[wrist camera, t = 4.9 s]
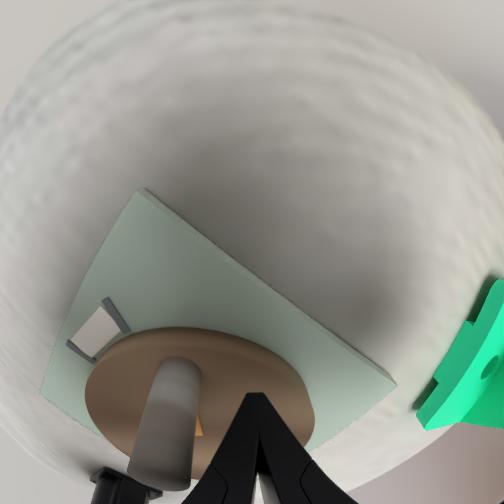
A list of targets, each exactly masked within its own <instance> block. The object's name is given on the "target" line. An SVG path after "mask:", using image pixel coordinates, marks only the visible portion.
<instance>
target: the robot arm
mask: <svg viewBox="0 0 504 504" xmlns="http://www.w3.org/2000/svg"><path fill="white" fill-rule="evenodd" d="M257 472H258V477H259V482H260V486H261V491H262V496H263V500H264V504H358V503H357V502H356V501H355V500H353V499H352V498H351V497H350V496H349V495H347V494H346V493H345V492H344V491H343V490H342V489H340V488H339V487H338V486H337V485H336V484H335V483H334V482H333V481H332V480H331V479H330V478H329V477H328V476H327V475H326V474H325V473H324V472H323V471H322V470H321V468H320V467H319V466H318V465H317V463H316V462H315V461H314V460H312V457H311V456H310V455H309V454H308V452H307V451H306V450H305V448H304V447H303V446H302V444H301V443H300V442H299V440H298V439H297V438H296V436H295V435H294V434H293V432H292V431H291V430H290V428H289V427H288V426H287V424H286V423H285V422H284V420H283V419H282V417H281V416H280V415H279V413H278V412H277V410H276V409H275V408H274V406H273V405H272V403H271V402H270V400H269V399H268V398H267V396H266V395H265V393H263V392H248V393H246V394H245V396H244V398H243V400H242V402H241V404H240V406H239V408H238V410H237V412H236V414H235V416H234V418H233V420H232V422H231V424H230V426H229V428H228V430H227V432H226V434H225V436H224V438H223V440H222V441H221V443H220V445H219V447H218V449H217V451H216V453H215V454H214V456H213V458H212V460H211V462H210V464H209V465H208V467H207V469H206V470H205V472H204V474H203V475H202V477H201V479H200V480H199V482H198V483H197V485H196V486H195V487H194V489H193V490H192V491H191V493H190V494H189V495H188V496H187V497H186V499H185V500H184V501H183V502H182V503H181V504H254V499H255V490H256V481H257ZM90 481H92V482H93V483H95V484H96V488H95V491H94V494H93V498H92V501H91V504H149V500H153V499H156V498H159V497H162V495H163V492H161V491H158V490H156V489H153V488H150V487H148V486H145V485H143V484H140V483H138V482H136V481H133V480H131V479H129V478H127V477H124V476H122V475H120V474H118V473H116V472H114V471H112V470H110V469H108V468H103V469H101V470H100V471H99V472H97V473H96V474H94V475H93V476H91V478H90ZM500 504H504V500H503V501H502V502H501V503H500Z"/></svg>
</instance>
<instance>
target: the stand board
mask: <svg viewBox="0 0 504 504" xmlns="http://www.w3.org/2000/svg"><path fill="white" fill-rule="evenodd" d="M163 327H191V328H202V329H209V330H216V331H220V332H224V333H228V334H232V335H236V336H239V337H242V338H244V339H247V340H250V341H253V342H255V343H257V344H259V345H261V346H263V347H265V348H268V349H269V350H271V351H272V352H274V353H275V354H277V355H279V356H280V357H282V358H283V359H284V360H285V361H286V362H288V363H289V364H290V365H291V366H292V367H293V368H294V369H295V370H296V372H297V373H298V374H299V375H300V377H301V379H302V380H303V382H304V383H305V386H306V389H307V392H308V395H309V398H310V401H311V404H312V407H313V410H314V415H315V425H314V431H313V433H312V436H311V438H310V440H309V441H308V443H307V445H306V446H305V447H304V448H305V450H306V451H307V452H308V453H309V452H310V451H312V450H313V449H315V448H317V447H318V446H320V445H321V444H323V443H324V442H326V441H327V440H329V439H330V438H332V437H333V436H335V435H336V434H338V433H339V432H341V431H342V430H343V429H345V428H346V427H348V426H349V425H350V424H352V423H353V422H354V421H356V420H357V419H358V418H360V417H361V416H362V415H363V414H365V413H366V412H367V411H368V410H370V409H371V408H372V407H373V406H375V405H376V404H377V403H378V402H379V401H381V400H382V399H383V398H384V397H385V396H386V395H387V394H389V393H390V392H391V391H392V390H393V389H394V388H395V387H396V386H397V384H396V382H395V381H394V380H393V378H392V377H391V375H389V374H388V373H386V372H385V371H384V370H382V369H381V368H379V367H378V366H377V365H375V364H374V363H372V362H371V361H370V360H368V359H367V358H366V357H364V356H363V355H361V354H360V353H359V352H357V351H356V350H355V349H353V348H352V347H350V346H349V345H348V344H346V343H345V342H344V341H342V340H341V339H339V338H338V337H337V336H335V335H334V334H333V333H331V332H330V331H329V330H327V329H326V328H325V327H323V326H322V325H321V324H319V323H318V322H316V321H315V320H314V319H312V318H311V317H310V316H308V315H307V314H306V313H304V312H303V311H302V310H300V309H299V308H298V307H296V306H295V305H294V304H292V303H291V302H290V301H288V300H287V299H286V298H284V297H283V296H282V295H280V294H279V293H278V292H276V291H275V290H274V289H272V288H271V287H270V286H268V285H267V284H266V283H265V282H263V281H262V280H261V279H259V278H258V277H257V276H255V275H254V274H253V273H251V272H250V271H249V270H247V269H246V268H245V267H244V266H242V265H241V264H240V263H238V262H237V261H236V260H234V259H233V258H232V257H231V256H229V255H228V254H227V253H225V252H224V251H223V250H221V249H220V248H219V247H218V246H216V245H215V244H214V243H212V242H211V241H210V240H209V239H207V238H206V237H205V236H203V235H202V234H201V233H200V232H198V231H197V230H196V229H194V228H193V227H192V226H191V225H189V224H188V223H187V222H186V221H184V220H183V219H182V218H180V217H179V216H178V215H177V214H175V213H174V212H173V211H172V210H170V209H169V208H168V207H167V206H165V205H164V204H163V203H162V202H160V201H159V200H158V199H156V198H155V197H154V196H153V195H151V194H150V193H149V192H148V191H146V190H145V189H140V190H136V191H135V192H134V194H133V195H132V197H131V198H130V200H129V201H128V203H127V204H126V206H125V207H124V209H123V211H122V212H121V214H120V215H119V217H118V219H117V220H116V222H115V223H114V225H113V227H112V228H111V230H110V232H109V233H108V235H107V237H106V239H105V240H104V242H103V244H102V246H101V247H100V249H99V251H98V253H97V255H96V257H95V258H94V260H93V262H92V264H91V266H90V268H89V270H88V272H87V274H86V276H85V278H84V280H83V282H82V284H81V286H80V288H79V290H78V292H77V294H76V296H75V298H74V301H73V303H72V305H71V307H70V310H69V312H68V314H67V316H66V319H65V321H64V324H63V326H62V328H61V331H60V333H59V336H58V339H57V341H56V344H55V347H54V349H53V352H52V355H51V358H50V361H49V364H48V366H47V370H46V373H45V376H44V379H43V382H42V386H41V389H40V393H39V394H40V395H42V396H43V397H44V398H45V399H47V400H48V401H49V402H50V403H52V404H53V405H54V406H56V407H57V408H58V409H60V410H61V411H62V412H64V413H65V414H67V415H68V416H70V417H71V418H72V419H74V420H75V421H77V422H78V423H80V424H81V425H83V426H84V427H86V428H88V429H89V430H91V431H92V432H94V433H96V434H97V435H99V436H101V437H102V438H104V439H106V438H105V437H104V436H103V435H102V433H101V432H100V431H99V430H98V428H97V427H96V426H95V424H94V423H93V421H92V419H91V417H90V415H89V413H88V410H87V407H86V403H85V386H86V383H87V380H88V378H89V376H90V374H91V373H92V371H93V369H94V368H95V366H96V364H97V363H98V361H99V359H100V358H101V356H102V355H103V353H104V352H105V351H106V350H107V349H108V348H109V347H110V346H111V345H113V344H114V343H116V342H117V341H119V340H120V339H122V338H125V337H127V336H129V335H131V334H134V333H138V332H141V331H145V330H150V329H156V328H163ZM106 440H107V439H106ZM258 479H259V477H258V475H257V480H258ZM196 480H197V479H196Z"/></svg>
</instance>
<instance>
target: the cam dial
mask: <svg viewBox="0 0 504 504" xmlns="http://www.w3.org/2000/svg"><path fill="white" fill-rule="evenodd" d="M248 392H263V393H265V395H266V396H267V398H268V399H269V400H270V402H271V403H272V405H273V406H274V408H275V409H276V410H277V412H278V413H279V415H280V416H281V417H282V419H283V420H284V422H285V423H286V424H287V426H288V427H289V428H290V430H291V431H292V432H293V434H294V435H295V436H296V438H297V439H298V440H299V442H300V443H301V444H302V446H303V447H305V446H306V445H307V443H308V441H309V440H310V438H311V436H312V433H313V431H314V425H315V415H314V410H313V407H312V404H311V401H310V398H309V395H308V392H307V389H306V386H305V383H304V382H303V380H302V379H301V377H300V375H299V374H298V373H297V372H296V370H295V369H294V368H293V367H292V366H291V365H290V364H289V363H288V362H286V361H285V360H284V359H283V358H282V357H280V356H279V355H277V354H275V353H274V352H272V351H271V350H269V349H268V348H265V347H263V346H261V345H259V344H257V343H255V342H253V341H250V340H247V339H244V338H242V337H239V336H236V335H232V334H228V333H224V332H220V331H216V330H209V329H202V328H191V327H163V328H156V329H150V330H145V331H141V332H138V333H134V334H131V335H129V336H127V337H125V338H122V339H120V340H119V341H117V342H116V343H114V344H113V345H111V346H110V347H109V348H108V349H107V350H106V351H105V352H104V353H103V355H102V356H101V358H100V359H99V361H98V363H97V364H96V366H95V368H94V369H93V371H92V373H91V374H90V376H89V378H88V380H87V383H86V386H85V403H86V407H87V410H88V413H89V415H90V417H91V419H92V421H93V423H94V424H95V426H96V427H97V428H98V430H99V431H100V432H101V433H102V435H103V436H104V437H105V438H106V439H107V440H108V441H109V442H110V443H111V444H113V445H114V446H115V447H116V448H117V449H119V450H120V451H121V452H123V453H124V454H126V455H127V456H129V457H130V461H129V464H128V468H127V472H128V474H129V475H130V476H131V477H132V478H133V479H135V480H136V481H138V482H140V483H142V484H144V485H146V486H149V487H152V488H156V489H160V490H165V491H183V490H186V489H188V488H189V487H190V484H191V479H197V480H200V479H201V477H202V475H203V474H204V472H205V470H206V469H207V467H208V465H209V464H210V462H211V460H212V458H213V456H214V454H215V453H216V451H217V449H218V447H219V445H220V443H221V441H222V440H223V438H224V436H225V434H226V432H227V430H228V428H229V426H230V424H231V422H232V420H233V418H234V416H235V414H236V412H237V410H238V408H239V406H240V404H241V402H242V400H243V398H244V396H245V394H246V393H248ZM257 475H258V472H257Z"/></svg>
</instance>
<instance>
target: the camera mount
mask: <svg viewBox="0 0 504 504" xmlns="http://www.w3.org/2000/svg"><path fill="white" fill-rule="evenodd" d="M433 377H434V378H435V379H436V380H437V382H438V383H439V384H438V385H437V386H436V388H435V389H434V391H433V392H432V393H431V395H430V396H429V397H428V399H427V400H426V401H425V403H424V404H423V405H422V406H421V408H420V409H419V410H418V412H417V414H416V417H417V418H418V420H419V421H420V423H421V424H422V426H423V427H424V429H425V430H431V429H435V428H439V427H443V426H447V425H451V424H454V423H458V422H464V423H469V424H475V425H481V426H487V427H494V428H502V429H504V280H502V279H498V280H497V281H495V283H494V284H493V285H492V287H491V289H490V291H489V293H488V296H487V298H486V300H485V303H484V305H483V307H482V309H481V311H480V313H479V315H478V318H477V320H476V322H471V321H467V320H465V322H464V324H463V326H462V328H461V330H460V331H459V333H458V335H457V337H456V339H455V341H454V342H453V344H452V346H451V348H450V349H449V351H448V353H447V354H446V356H445V358H444V359H443V361H442V362H441V364H440V366H439V367H438V369H437V370H436V372H435V373H434V375H433Z"/></svg>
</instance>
